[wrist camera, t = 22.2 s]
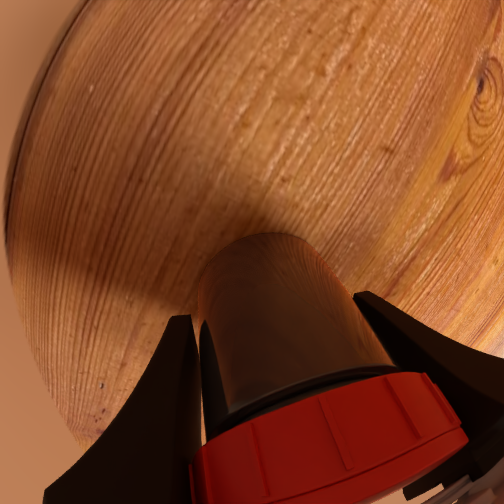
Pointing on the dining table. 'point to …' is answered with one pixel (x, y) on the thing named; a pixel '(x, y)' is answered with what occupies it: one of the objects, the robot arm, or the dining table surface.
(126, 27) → the dining table surface
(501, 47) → the dining table surface
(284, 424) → the jar lid
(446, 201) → the dining table surface
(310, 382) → the jar
